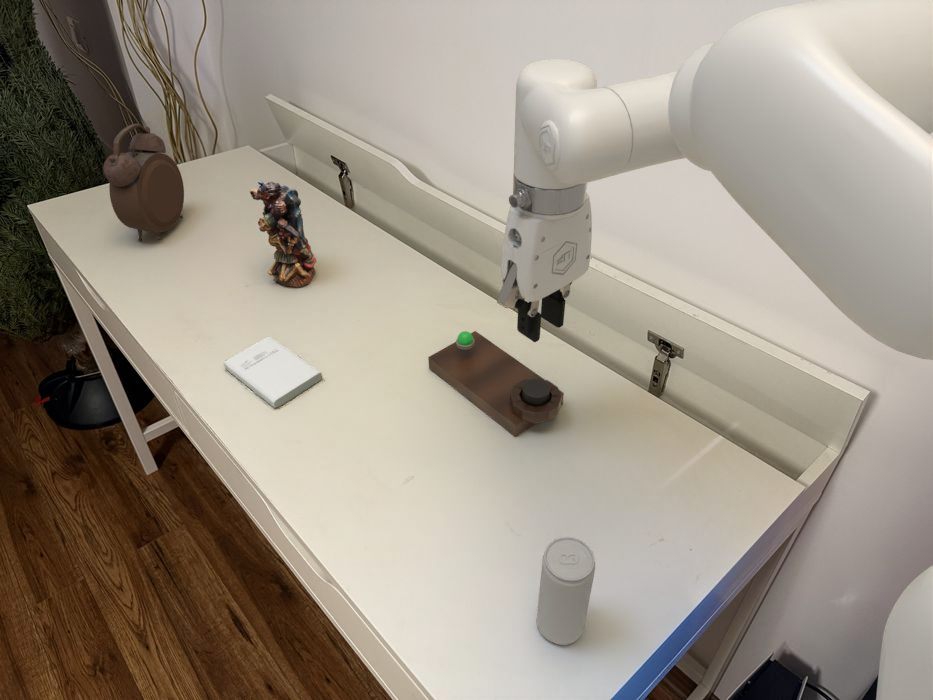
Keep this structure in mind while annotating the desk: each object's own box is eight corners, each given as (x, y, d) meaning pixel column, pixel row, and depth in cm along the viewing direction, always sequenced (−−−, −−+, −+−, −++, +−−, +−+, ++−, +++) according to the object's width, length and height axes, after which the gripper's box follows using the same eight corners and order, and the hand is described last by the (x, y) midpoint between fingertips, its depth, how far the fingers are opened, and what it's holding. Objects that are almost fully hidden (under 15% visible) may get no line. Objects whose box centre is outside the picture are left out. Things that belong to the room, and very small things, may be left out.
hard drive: (275, 410, 95) (225, 369, 101) (323, 379, 99) (272, 342, 106) (273, 401, 94) (222, 361, 100) (321, 371, 98) (269, 334, 105)
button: (555, 397, 91) (556, 388, 90) (535, 411, 89) (536, 401, 88) (535, 383, 93) (536, 374, 92) (516, 396, 91) (516, 386, 90)
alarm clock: (162, 210, 138) (129, 111, 125) (196, 213, 137) (165, 113, 124) (120, 248, 127) (79, 144, 114) (156, 252, 126) (119, 147, 113)
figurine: (248, 291, 116) (222, 194, 105) (268, 262, 123) (246, 167, 111) (310, 297, 115) (290, 198, 103) (327, 266, 122) (310, 171, 110)
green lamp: (478, 345, 99) (478, 333, 97) (464, 353, 97) (464, 341, 96) (466, 336, 100) (466, 324, 99) (452, 344, 99) (452, 332, 98)
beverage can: (586, 648, 69) (599, 582, 61) (537, 647, 69) (544, 581, 61) (581, 603, 72) (592, 535, 65) (534, 602, 73) (540, 535, 65)
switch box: (575, 413, 93) (577, 391, 91) (527, 446, 89) (528, 425, 86) (475, 341, 105) (475, 321, 103) (428, 368, 101) (427, 347, 98)
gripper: (517, 231, 65) (512, 375, 77) (629, 176, 73) (609, 314, 85) (465, 202, 70) (467, 343, 82) (576, 154, 78) (564, 288, 90)
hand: (540, 327), depth 83 cm, fingers open, 3 cm apart
